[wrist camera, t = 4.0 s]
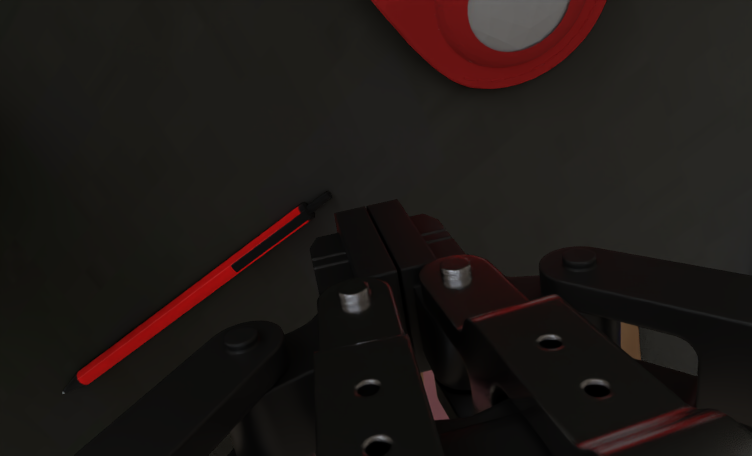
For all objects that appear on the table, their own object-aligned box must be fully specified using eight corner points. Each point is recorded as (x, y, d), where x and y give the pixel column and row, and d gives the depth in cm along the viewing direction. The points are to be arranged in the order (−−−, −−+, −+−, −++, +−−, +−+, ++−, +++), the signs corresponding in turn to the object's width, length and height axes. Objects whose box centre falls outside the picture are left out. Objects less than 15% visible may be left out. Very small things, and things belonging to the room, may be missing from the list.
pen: (336, 197, 29) (334, 206, 28) (73, 392, 34) (63, 406, 33) (324, 184, 28) (321, 192, 27) (61, 382, 34) (50, 395, 32)
